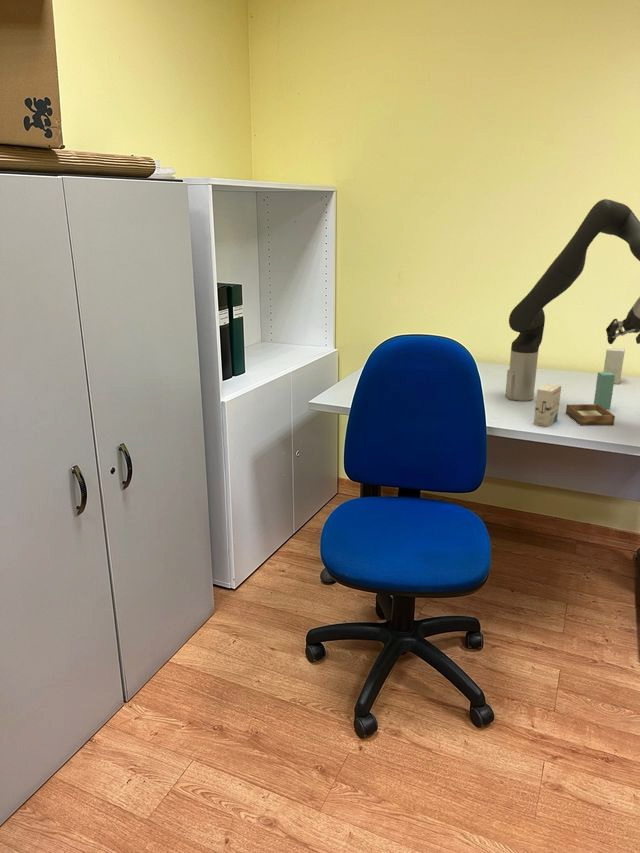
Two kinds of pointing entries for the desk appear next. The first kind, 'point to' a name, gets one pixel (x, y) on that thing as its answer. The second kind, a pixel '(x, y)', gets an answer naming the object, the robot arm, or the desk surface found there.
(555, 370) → the desk surface
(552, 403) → the ink box
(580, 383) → the desk surface
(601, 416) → the tray
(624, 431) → the desk surface
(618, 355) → the small box
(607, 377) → the teal block
